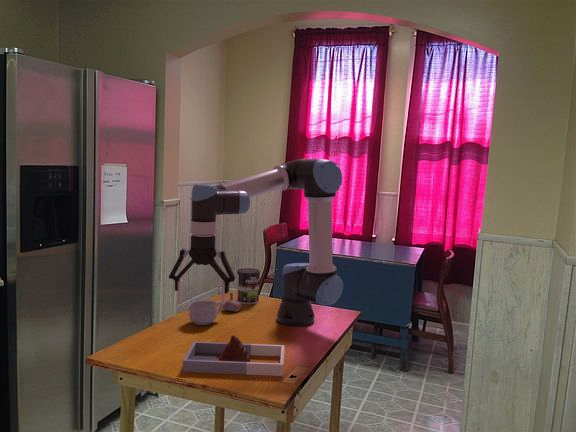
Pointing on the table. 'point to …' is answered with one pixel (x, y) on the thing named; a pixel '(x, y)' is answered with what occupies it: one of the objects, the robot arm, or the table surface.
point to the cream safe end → (266, 368)
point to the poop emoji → (235, 351)
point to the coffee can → (248, 286)
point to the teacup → (204, 311)
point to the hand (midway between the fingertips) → (201, 302)
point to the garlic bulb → (231, 304)
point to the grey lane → (211, 359)
